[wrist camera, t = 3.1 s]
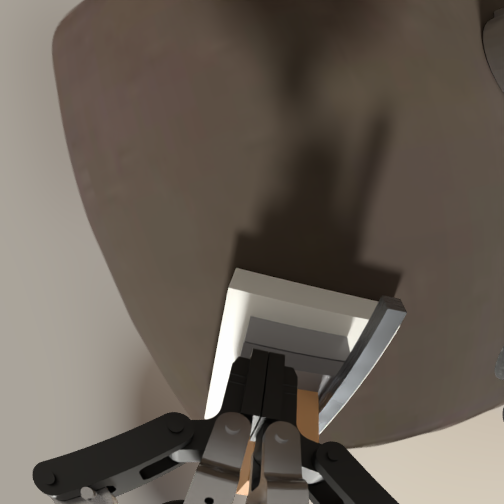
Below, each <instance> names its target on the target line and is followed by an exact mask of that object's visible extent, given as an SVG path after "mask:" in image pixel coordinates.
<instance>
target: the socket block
mask: <svg viewBox="0 0 504 504" xmlns="http://www.w3.org/2000/svg"><path fill="white" fill-rule="evenodd" d="M377 304H378V301H374V300H369V299H365V298H361V297H356V296H352V295H347V294H343V293H339V292H334V291H330V290H326V289H322V288H317V287H313V286H309V285H305V284H301V283H296V282H292V281H288V280H284V279H280V278H276V277H272V276H268V275H263V274H259V273H255V272H251V271H247V270H243V269H239V268H236V269H235V272H234V274H233V277H232V280H231V282H230V285H229V287H228V292H227V297H226V303H225V308H224V313H223V318H222V324H221V329H220V334H219V340H218V345H217V350H216V356H215V361H214V367H213V372H212V378H211V384H210V389H209V395H208V401H207V406H206V412H205V419H210V418H212V417H214V416H216V415H217V414H218V413H219V411H220V409H221V406H222V402H223V398H224V394H225V390H226V386H227V382H228V378H229V374H230V371H231V367H232V363H233V362H234V361H235V360H236V359H237V358H238V357H239V356H240V354H241V350H242V347H243V343H244V342H245V343H249V344H253V345H258V346H262V347H266V348H271V349H275V350H280V351H285V352H290V353H295V354H300V355H305V356H310V357H316V358H321V359H327V360H333V361H339V362H345V361H346V359H347V357H348V356H349V354H350V352H351V351H352V349H353V347H354V346H355V344H356V342H357V340H358V339H359V337H360V335H361V334H362V332H363V330H364V328H365V326H366V325H367V323H368V321H369V319H370V317H371V315H372V313H373V312H374V310H375V308H376V306H377ZM399 327H400V325H399ZM399 327H398V329H399ZM398 329H397V330H396V332H397V331H398ZM396 332H395V334H396ZM395 334H394V335H395ZM394 335H393V337H394ZM393 337H392V338H391V340H392V339H393ZM391 340H390V342H391ZM390 342H389V343H390ZM389 343H388V345H389ZM388 345H387V346H388ZM387 346H386V348H387ZM386 348H385V349H386ZM385 349H384V351H385ZM384 351H383V352H384ZM383 352H382V354H383ZM382 354H381V355H382ZM381 355H380V357H381ZM380 357H379V358H380ZM379 358H378V360H379ZM378 360H377V361H378ZM377 361H376V363H377ZM376 363H375V364H376ZM375 364H374V366H375ZM374 366H373V367H374ZM373 367H372V368H373ZM372 368H371V370H372ZM371 370H370V371H371ZM370 371H369V373H370ZM369 373H368V374H369ZM368 374H367V375H368ZM367 375H366V377H367ZM366 377H365V378H366ZM365 378H364V379H365ZM364 379H363V381H364ZM363 381H362V382H363ZM362 382H361V383H362ZM361 383H360V385H361ZM360 385H359V386H360ZM359 386H358V387H359ZM358 387H357V389H358ZM357 389H356V390H357ZM356 390H355V391H356ZM355 391H354V393H355ZM354 393H353V394H354ZM353 394H352V395H353ZM352 395H351V396H352ZM350 398H351V397H350ZM350 398H349V399H350ZM349 399H348V400H349ZM348 400H347V401H348ZM346 403H347V402H346ZM346 403H345V404H346ZM345 404H344V405H345ZM344 405H343V406H344ZM343 406H342V408H343ZM342 408H341V409H342ZM341 409H340V410H341ZM340 410H339V411H340ZM339 411H338V412H339ZM337 414H338V413H337ZM337 414H336V415H337ZM336 415H335V416H336ZM335 416H334V417H335ZM334 417H333V418H334ZM333 418H332V419H333ZM331 421H332V420H331ZM331 421H330V422H331ZM330 422H329V423H330ZM329 423H328V424H329ZM328 424H327V425H328ZM327 425H326V426H327ZM326 426H325V427H326ZM324 429H325V428H324ZM324 429H323V430H324ZM323 430H322V431H323ZM322 431H321V432H322ZM321 432H320V433H321ZM320 433H319V434H320Z"/></svg>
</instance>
